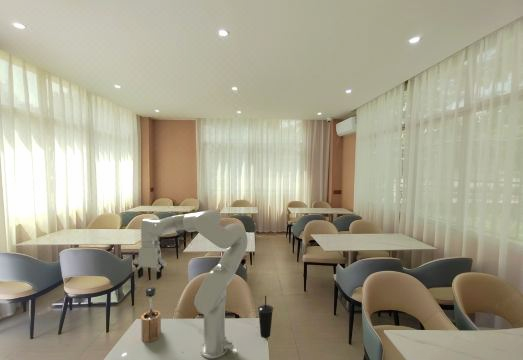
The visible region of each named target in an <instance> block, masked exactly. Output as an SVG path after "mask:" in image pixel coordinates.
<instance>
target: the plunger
mask: <svg viewBox="0 0 523 360" xmlns="http://www.w3.org/2000/svg"><path fill="white" fill-rule="evenodd" d="M155 295H156V287H153V286H151V287H148V288H145V296H146V297H149V299H148V300H149V311H150V316H148V317H147V318H146V319H151V318H155V317H156V316H154V315H152V311H153V296H155Z"/></svg>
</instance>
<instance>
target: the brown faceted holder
mask: <svg viewBox="0 0 523 360" xmlns="http://www.w3.org/2000/svg"><path fill="white" fill-rule="evenodd" d="M152 315H154V316H156V317H155V318H151V319H146V318H147V317H148V316H150V310H148V311H146V312H144V313H143V314H142V315H141V316H140V318H141V320H140V323H141V324H140V325H141V327H140V329H141V330H140V331H141V341H142V342H143V343H152V342H155V341H158V340H159V338H161V334H162V330H161V329H162V323H161V321H162V319H161V317H162V315H161V312H160V310H154V309H152Z"/></svg>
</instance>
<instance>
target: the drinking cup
mask: <svg viewBox="0 0 523 360" xmlns="http://www.w3.org/2000/svg"><path fill="white" fill-rule="evenodd" d="M257 311H258V319H259V320H258V321H259V329H260V330H259V331H260V332H259V333H260V336H261V338H265V339H267V338H266V337H268V338H270V336H271V332H272V322H273V321H272V320H273V319H272V318H273V312H274V307H273V306H272V305H270V304H267V295H265V296H264V304H261V305H259V306H258V308H257Z"/></svg>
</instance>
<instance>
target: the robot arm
mask: <svg viewBox="0 0 523 360" xmlns="http://www.w3.org/2000/svg"><path fill="white" fill-rule="evenodd" d="M221 221H222V217H221V214H220V212H219V211H217V210H213V209H212V210H210V209H208V210H204V211H203V210H202V211H197V212H190V213H186V214H179V215H173V216H168V217H164V218H162V219H157V218H156V217H145V218H143V219H142V220H141V221H140V226H141V227H140V232H141V233H140V240H141V241H140V244H141V245H140V247H139V249H138V250H139V251H138V257H137V258H134V259H133V260H132V264H133V265H134V267H135V268H136V270H137V277H138V278H137V279H140V278H141V277H143V276H144V268H152V269H153V268H154V269H155V270H156V275H155V276H156V280H157V281H159V279H161V278H162V276H163V275H162V271H163V269H165V267H166V265H167V263H168V262H167V261H166V260H164V259H162V251H161V246H160V244H161V241H159V238H158V237H162V236H165V235H167V234H170V233H172V232H176V231H182V230H185V231H186V232H188V233H192V232H197V233H199V234H200V235H201V236H202V237H204V238H205V239H207V241H209V242H211V244H213V245H214V246H215V247H217V248H219V249H225V250H224V252H223V254H222V256H221V258H220V259H219V262H218V263H217V265H216V266H214V267H213V268H212V269H211V270H209V272H208V273H206V275H205V277H204V279H203V281H202V283H201V285H200V286H199V289H198V291H197V293H196V295H195V297H194V303H193V304H194V308H195V310H196V311H197V313H200V314H202V315H203V343H202V344H201V346H200V354H201V355H202V356H203V357H204V358H207V359H211V360H213V359H218V358H221V357H223V356H224V355H226V353H227V352H228V350H234V347H235V345H234V344H233V340H232V341H230V340H229V341H228V340H227V338H228V337H227V336H226V335H225V334H226V329H225V328H226V324H225V323H226V317H225V316H226V312H225V311H226V301H227V300H226V299H227V287H228V285H229V284H230V283H231V282H232V280H233V278H234V277H235V275H236V272H237V270H238V269H239V267H240V263H241V262H242V259H243V258H244V256H245V253H246V251H247V247H248V241H249V240H248V235H247V231H246V230H245V228H244V227H243V226H242V225H241V224H239V223H237V222H236V223H230V224H227V225H225V226H222V225H221Z"/></svg>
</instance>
